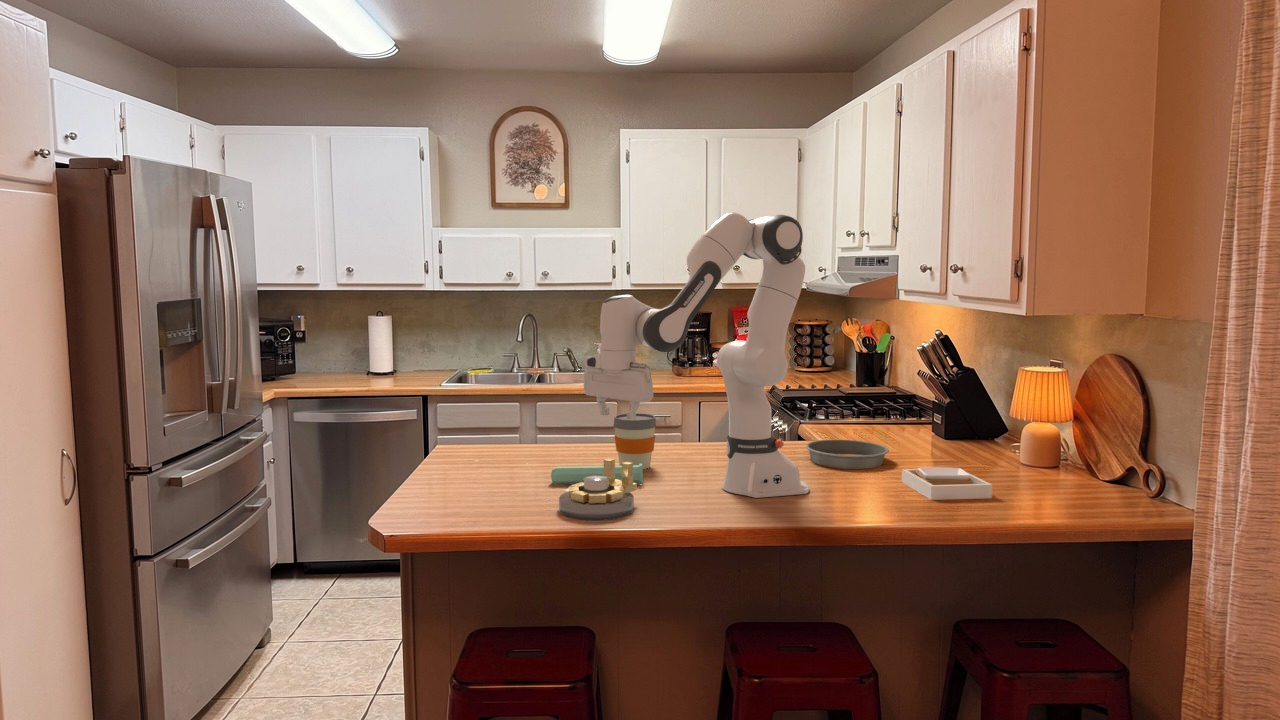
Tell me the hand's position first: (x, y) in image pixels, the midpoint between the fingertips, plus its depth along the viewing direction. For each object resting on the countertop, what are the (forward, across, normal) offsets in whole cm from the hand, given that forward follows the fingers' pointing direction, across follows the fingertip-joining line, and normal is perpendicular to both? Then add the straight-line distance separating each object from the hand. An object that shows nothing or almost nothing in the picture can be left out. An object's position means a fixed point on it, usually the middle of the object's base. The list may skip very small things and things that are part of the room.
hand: (617, 416), depth 202 cm
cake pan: (+21, -23, -79) cm, 85 cm away
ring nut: (+18, 0, +6) cm, 19 cm away
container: (+22, +17, -10) cm, 30 cm away
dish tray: (+21, -58, -64) cm, 89 cm away
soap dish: (+21, -58, -65) cm, 89 cm away
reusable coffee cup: (+22, +21, -32) cm, 44 cm away
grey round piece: (+22, 0, +8) cm, 23 cm away
